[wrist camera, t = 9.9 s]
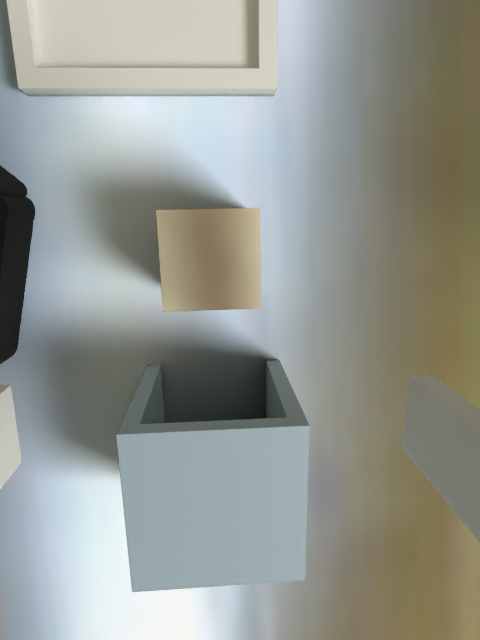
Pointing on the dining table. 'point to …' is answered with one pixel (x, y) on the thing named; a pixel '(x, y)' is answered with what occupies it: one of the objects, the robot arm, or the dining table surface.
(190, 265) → the block
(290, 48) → the dining table surface
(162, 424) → the open box
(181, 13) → the tray
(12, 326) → the emblem
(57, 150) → the dining table surface
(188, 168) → the dining table surface
